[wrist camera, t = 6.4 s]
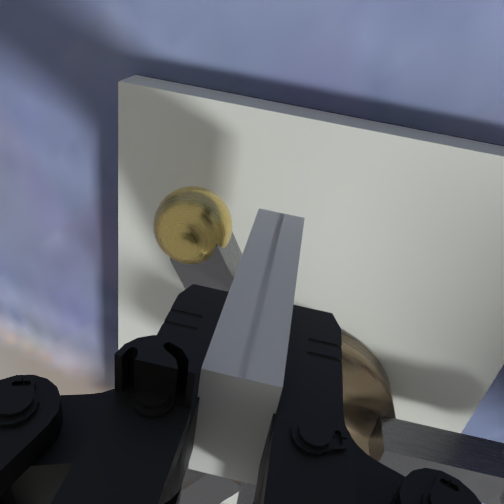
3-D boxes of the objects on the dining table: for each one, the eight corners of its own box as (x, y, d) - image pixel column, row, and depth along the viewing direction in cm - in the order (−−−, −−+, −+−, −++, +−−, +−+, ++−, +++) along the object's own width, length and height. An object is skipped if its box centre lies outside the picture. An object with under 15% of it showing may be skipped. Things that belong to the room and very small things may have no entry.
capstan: (-1, 230, 18) (-148, 334, 12) (480, 67, 12) (604, 119, 7) (169, 477, 24) (123, 616, 19) (530, 439, 19) (613, 617, 13)
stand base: (135, 74, 16) (-155, 183, 6) (593, 163, 15) (1056, 442, 5) (128, 455, 27) (21, 699, 17) (389, 516, 26) (424, 807, 17)
